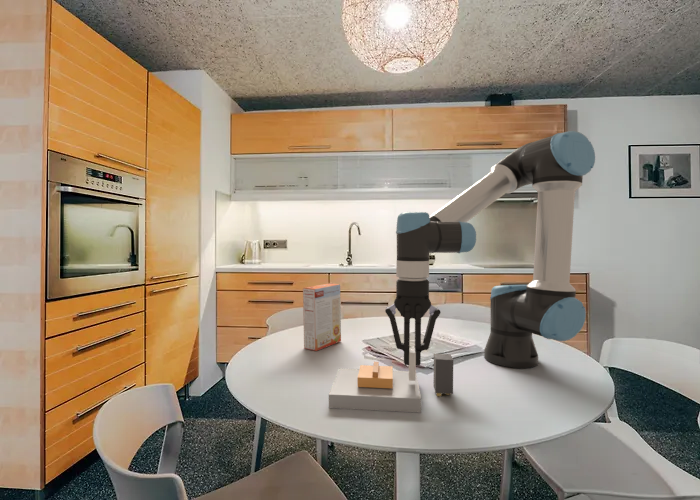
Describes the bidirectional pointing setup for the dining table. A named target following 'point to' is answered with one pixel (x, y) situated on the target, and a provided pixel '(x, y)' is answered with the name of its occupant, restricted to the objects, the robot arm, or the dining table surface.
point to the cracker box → (321, 316)
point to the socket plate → (375, 393)
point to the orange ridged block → (375, 376)
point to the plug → (443, 374)
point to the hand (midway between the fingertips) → (412, 378)
